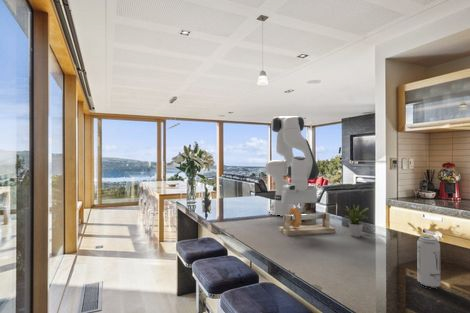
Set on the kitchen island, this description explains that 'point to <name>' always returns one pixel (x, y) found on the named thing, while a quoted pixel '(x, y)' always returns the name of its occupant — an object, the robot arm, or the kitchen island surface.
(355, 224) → the house plant
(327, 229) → the pipe stand
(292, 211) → the orange faceted ring
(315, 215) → the steel pipe
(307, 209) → the coffee box
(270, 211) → the robot arm
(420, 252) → the energy drink can
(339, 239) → the kitchen island surface
